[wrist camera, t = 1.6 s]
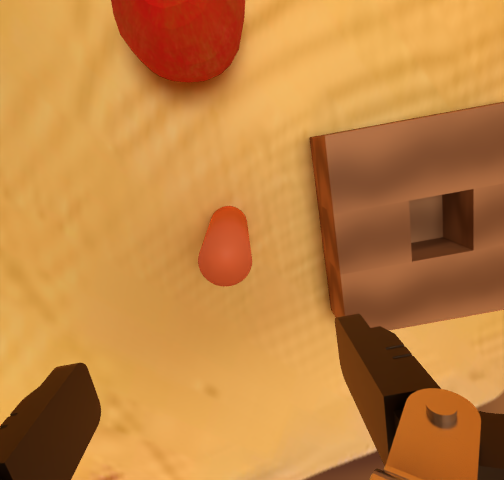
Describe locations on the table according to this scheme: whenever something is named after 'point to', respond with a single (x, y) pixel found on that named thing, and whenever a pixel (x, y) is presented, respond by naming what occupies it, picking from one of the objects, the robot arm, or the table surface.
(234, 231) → the dowel
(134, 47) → the apple
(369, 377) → the robot arm
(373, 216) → the bore block
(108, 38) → the table surface
